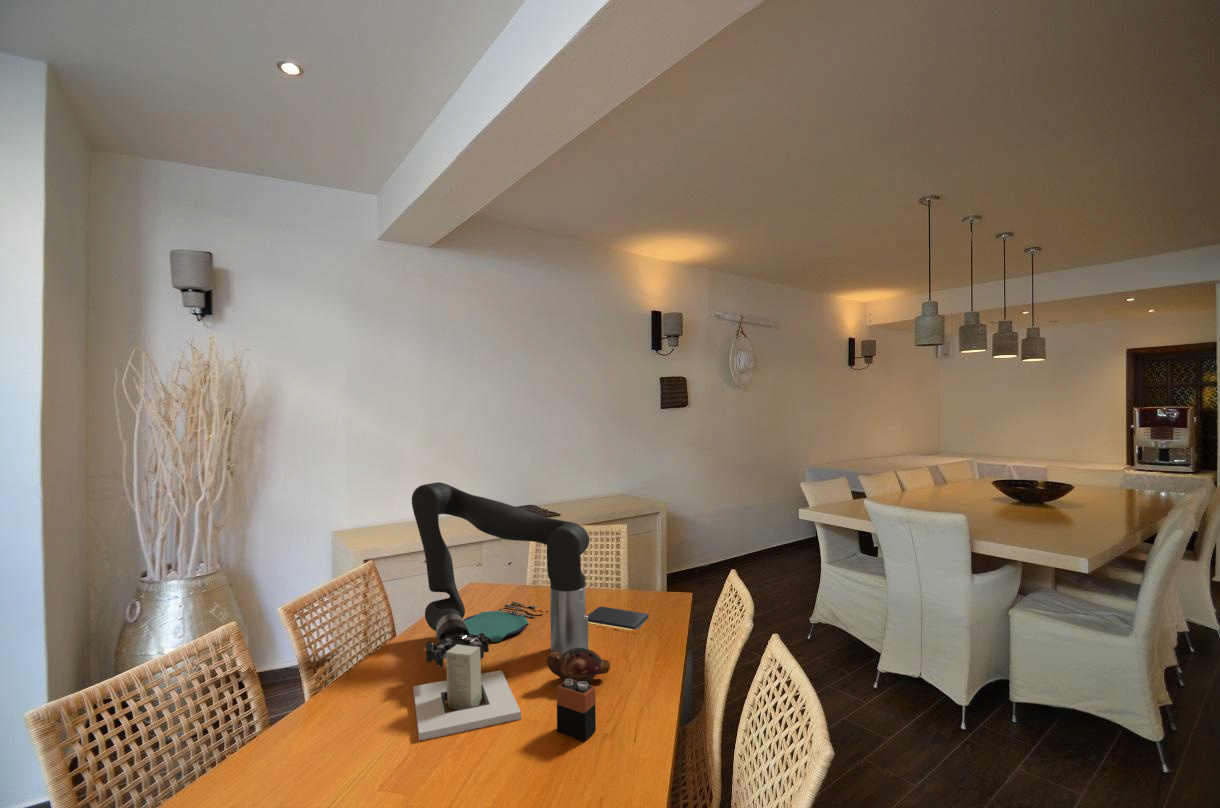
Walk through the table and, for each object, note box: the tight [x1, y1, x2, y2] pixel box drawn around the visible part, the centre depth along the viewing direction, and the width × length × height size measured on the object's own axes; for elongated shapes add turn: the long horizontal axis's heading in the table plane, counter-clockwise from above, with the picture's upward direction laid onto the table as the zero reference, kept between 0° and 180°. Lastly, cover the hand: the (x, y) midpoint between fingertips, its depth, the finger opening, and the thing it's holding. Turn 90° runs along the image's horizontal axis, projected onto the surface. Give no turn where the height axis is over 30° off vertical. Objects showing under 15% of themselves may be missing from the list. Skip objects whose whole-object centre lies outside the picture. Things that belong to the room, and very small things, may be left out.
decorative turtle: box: [546, 648, 611, 685], centre depth 132 cm, size 10×15×8 cm, turn 112°
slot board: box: [412, 670, 522, 742], centre depth 122 cm, size 20×20×2 cm
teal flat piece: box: [463, 601, 539, 643], centre depth 169 cm, size 20×30×2 cm, turn 152°
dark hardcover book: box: [586, 605, 650, 631], centre depth 171 cm, size 20×2×15 cm
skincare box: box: [445, 644, 483, 710], centre depth 122 cm, size 6×4×12 cm
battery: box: [556, 679, 597, 742], centre depth 112 cm, size 4×7×10 cm, turn 59°
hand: (461, 659), depth 128 cm, fingers open, 8 cm apart
